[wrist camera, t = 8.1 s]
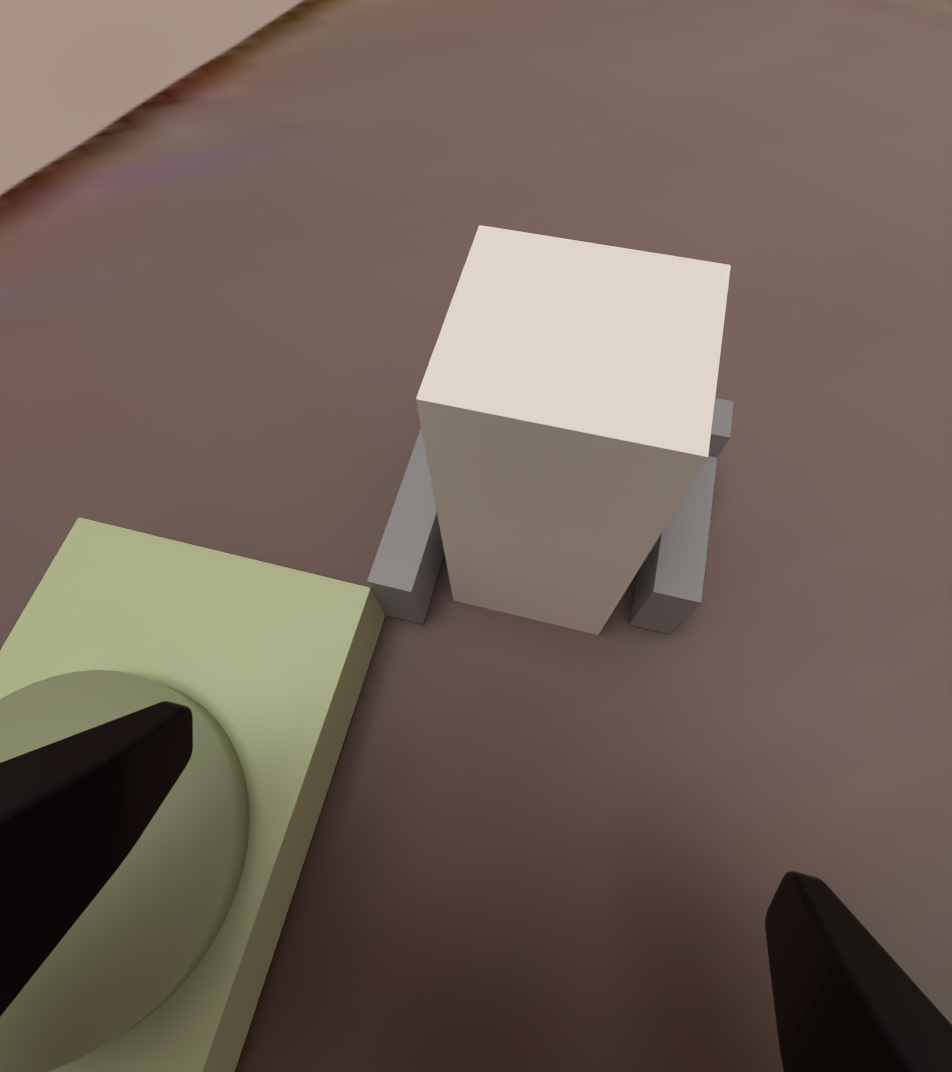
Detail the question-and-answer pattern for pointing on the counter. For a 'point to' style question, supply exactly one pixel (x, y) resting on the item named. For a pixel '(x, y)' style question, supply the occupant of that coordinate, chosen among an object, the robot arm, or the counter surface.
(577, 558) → the white block
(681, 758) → the counter surface
